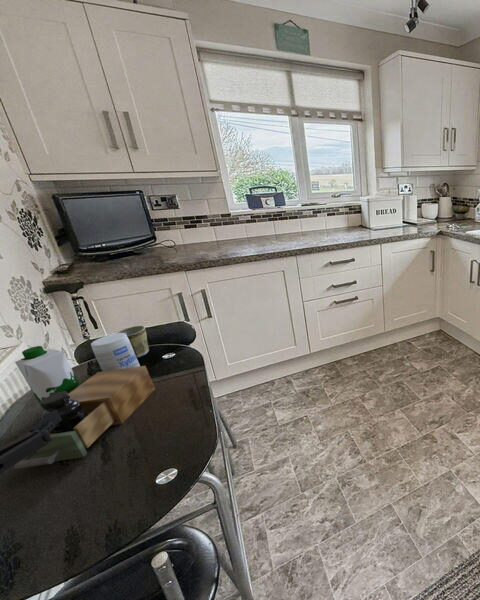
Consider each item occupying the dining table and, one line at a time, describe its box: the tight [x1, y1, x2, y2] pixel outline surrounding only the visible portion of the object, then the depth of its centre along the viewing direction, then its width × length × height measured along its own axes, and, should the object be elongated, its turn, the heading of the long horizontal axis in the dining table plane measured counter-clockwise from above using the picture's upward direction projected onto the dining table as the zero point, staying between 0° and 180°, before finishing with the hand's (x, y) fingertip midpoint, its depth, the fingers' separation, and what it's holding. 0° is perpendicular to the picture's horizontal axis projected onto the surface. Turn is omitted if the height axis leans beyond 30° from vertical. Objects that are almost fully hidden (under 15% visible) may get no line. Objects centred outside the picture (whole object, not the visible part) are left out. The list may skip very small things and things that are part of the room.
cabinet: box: [68, 365, 156, 427], centre depth 94 cm, size 16×14×9 cm
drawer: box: [13, 401, 116, 470], centre depth 81 cm, size 19×13×7 cm, turn 7°
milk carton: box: [14, 345, 81, 406], centre depth 95 cm, size 9×9×20 cm
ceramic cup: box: [114, 325, 150, 359], centre depth 127 cm, size 13×10×10 cm
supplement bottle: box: [39, 392, 87, 434], centre depth 81 cm, size 7×7×12 cm
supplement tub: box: [90, 332, 141, 372], centre depth 110 cm, size 10×10×15 cm
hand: (20, 422), depth 70 cm, fingers open, 13 cm apart
